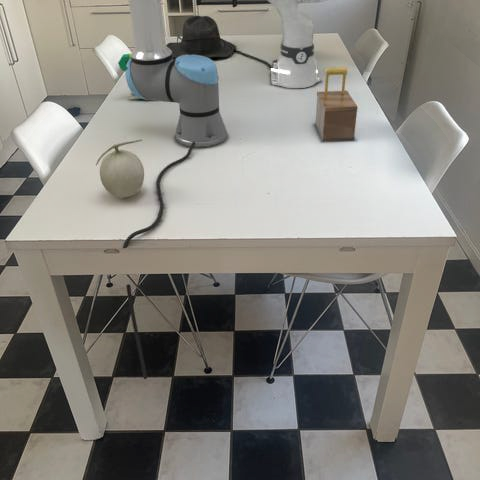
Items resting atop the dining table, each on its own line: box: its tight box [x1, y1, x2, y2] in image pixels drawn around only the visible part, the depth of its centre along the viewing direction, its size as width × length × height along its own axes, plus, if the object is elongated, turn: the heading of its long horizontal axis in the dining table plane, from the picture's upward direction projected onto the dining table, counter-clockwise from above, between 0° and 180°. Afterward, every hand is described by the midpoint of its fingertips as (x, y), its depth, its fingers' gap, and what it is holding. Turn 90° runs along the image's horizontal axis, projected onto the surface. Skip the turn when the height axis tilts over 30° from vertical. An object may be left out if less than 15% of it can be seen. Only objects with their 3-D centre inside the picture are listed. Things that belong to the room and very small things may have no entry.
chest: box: [314, 96, 358, 143], centre depth 155 cm, size 13×9×9 cm
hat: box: [166, 15, 237, 59], centre depth 230 cm, size 32×35×14 cm
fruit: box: [95, 139, 145, 199], centre depth 124 cm, size 10×12×15 cm
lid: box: [316, 66, 358, 112], centre depth 150 cm, size 14×9×9 cm
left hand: (216, 5), depth 181 cm, fingers open, 13 cm apart
